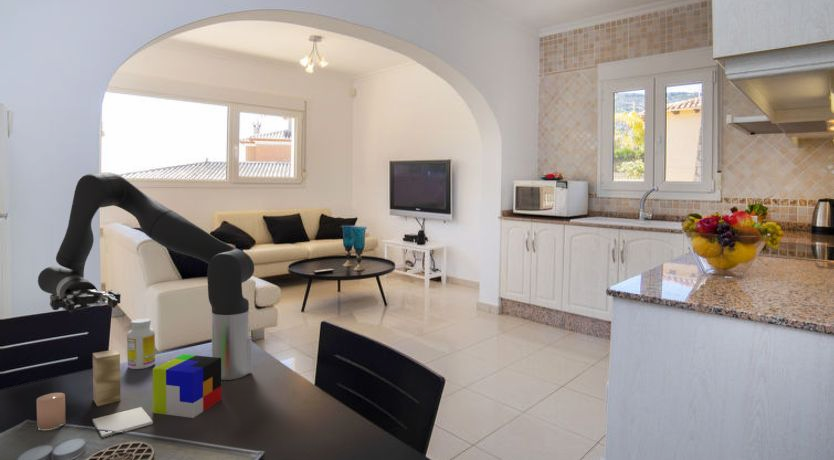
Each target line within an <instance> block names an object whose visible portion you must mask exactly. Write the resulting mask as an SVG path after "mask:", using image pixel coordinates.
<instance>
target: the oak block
mask: <svg viewBox="0 0 834 460" xmlns="http://www.w3.org/2000/svg"><path fill="white" fill-rule="evenodd" d="M92 389H93V390H92V391H93V392H92V393H93V394H92V395H93V399H92V400H93V401H94V403H95V405H96V406H97V407H100V406H103V405H108V404H112V403H116V402H120V401H121V354H120V352H119V351H117V349H110V350H104V351H99V352H92Z"/></svg>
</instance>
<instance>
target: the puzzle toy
mask: <svg viewBox="0 0 834 460" xmlns="http://www.w3.org/2000/svg"><path fill="white" fill-rule="evenodd" d="M221 400H222V380H221V358H216V357H212V356H205V355H194V354H184V353H183V354H181V355H180V356H177V357H175V358H173V359H170V360H169V361H166V362H164V363H161V364H159V365H157V366H155V367H153V368H152V413H153V414H159V415H160V414H161V415H168V416H169V415H170V416H175V417H183V418H184V417H185V418H189V419H190V418H192V419H194V418H196V417H197V416H199V415H200V414H202V413H203V412H204V411H206V410H207V409H209V408H211V407H212V406H213V405H215V404H216V403H218V402H220V401H221Z"/></svg>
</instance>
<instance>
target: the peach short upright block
mask: <svg viewBox="0 0 834 460" xmlns="http://www.w3.org/2000/svg"><path fill="white" fill-rule="evenodd" d="M66 423H67V422H66V394H65V393H63V392H51V393H47V394H44V395H41V396H39V397H37V398H36V424H37V425H36V426H37V427H38V428H40V429H51V428H54V427H56V426H58V425H60V424H65V425H66ZM37 427H36V428H37Z"/></svg>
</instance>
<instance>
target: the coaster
mask: <svg viewBox="0 0 834 460" xmlns="http://www.w3.org/2000/svg"><path fill="white" fill-rule="evenodd" d="M92 423H93V425H94V426H95V428H96V427H97V428H101V429H108V430H117V431H125V432H129V431H133V430H135V429H140V428H143V427H146V426H150V425H153V423H154V420H153V419H152V418H151V416H149V415H148V414H147V412H146V411H145V410H144V408H143V407H142V406H139V407H135V408H131V409H128V410H124V411H119V412H116V413H112V414H109V415H104V416H99V417H97V418H92ZM97 428H96V429H97ZM100 433H101V435H102V436H103V435H106V434H110V433H112V431H108V432H105V431H100ZM101 435H100V436H101Z"/></svg>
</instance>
